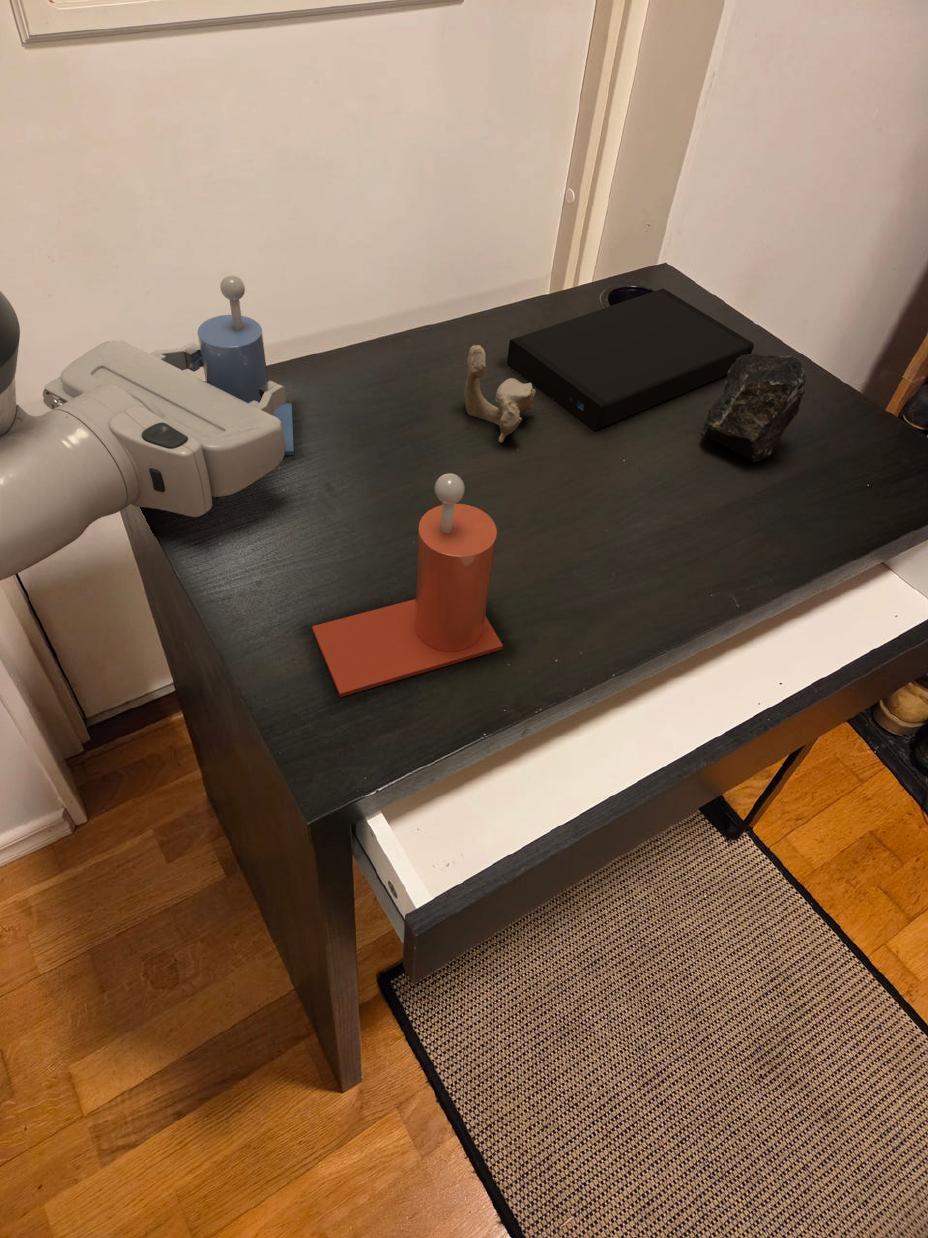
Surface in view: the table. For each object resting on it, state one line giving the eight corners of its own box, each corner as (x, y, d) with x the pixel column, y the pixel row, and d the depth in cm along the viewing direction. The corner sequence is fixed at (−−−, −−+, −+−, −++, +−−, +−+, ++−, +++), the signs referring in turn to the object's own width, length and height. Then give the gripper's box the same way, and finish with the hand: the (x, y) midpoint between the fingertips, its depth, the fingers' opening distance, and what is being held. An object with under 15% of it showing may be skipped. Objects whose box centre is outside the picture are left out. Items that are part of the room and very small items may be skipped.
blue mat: (193, 458, 78) (192, 454, 77) (197, 410, 83) (196, 405, 82) (294, 455, 79) (293, 450, 79) (291, 407, 84) (291, 403, 84)
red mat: (339, 697, 61) (339, 693, 61) (312, 630, 65) (311, 626, 65) (502, 649, 65) (503, 645, 65) (466, 589, 69) (467, 584, 69)
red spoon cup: (418, 654, 64) (426, 505, 53) (410, 601, 67) (416, 451, 56) (489, 649, 65) (511, 501, 54) (477, 597, 68) (496, 448, 57)
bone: (566, 425, 83) (529, 354, 75) (514, 468, 83) (472, 401, 75) (521, 384, 88) (482, 313, 80) (473, 424, 88) (429, 357, 81)
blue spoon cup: (234, 451, 78) (210, 301, 67) (203, 423, 81) (175, 273, 70) (283, 430, 81) (269, 283, 70) (252, 403, 83) (233, 257, 72)
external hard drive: (745, 368, 95) (754, 343, 93) (594, 431, 85) (600, 406, 83) (655, 311, 103) (662, 287, 100) (506, 363, 92) (509, 338, 90)
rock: (786, 445, 86) (824, 356, 79) (759, 480, 82) (797, 390, 75) (714, 415, 89) (745, 326, 81) (685, 447, 85) (714, 357, 77)
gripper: (41, 427, 74) (163, 360, 82) (214, 526, 67) (328, 443, 75) (18, 362, 69) (150, 298, 77) (201, 462, 62) (325, 381, 70)
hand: (239, 370), depth 76 cm, fingers open, 8 cm apart
